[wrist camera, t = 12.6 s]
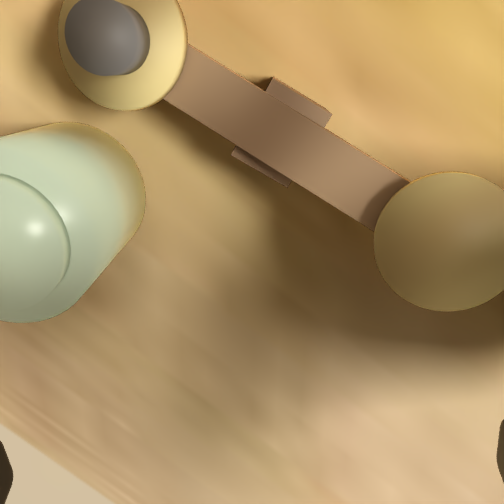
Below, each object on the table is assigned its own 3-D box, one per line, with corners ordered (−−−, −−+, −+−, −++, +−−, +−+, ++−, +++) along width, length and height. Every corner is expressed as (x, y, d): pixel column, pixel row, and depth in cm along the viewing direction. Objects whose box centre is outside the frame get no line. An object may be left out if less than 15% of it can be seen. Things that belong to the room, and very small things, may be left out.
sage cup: (131, 115, 19) (61, 138, 13) (156, 251, 21) (107, 326, 15) (-8, 128, 20) (-139, 157, 13) (30, 260, 22) (-67, 337, 16)
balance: (487, 183, 19) (564, 226, 14) (419, 270, 21) (465, 338, 16) (108, -52, 17) (32, -104, 12) (63, 67, 18) (-21, 68, 13)
